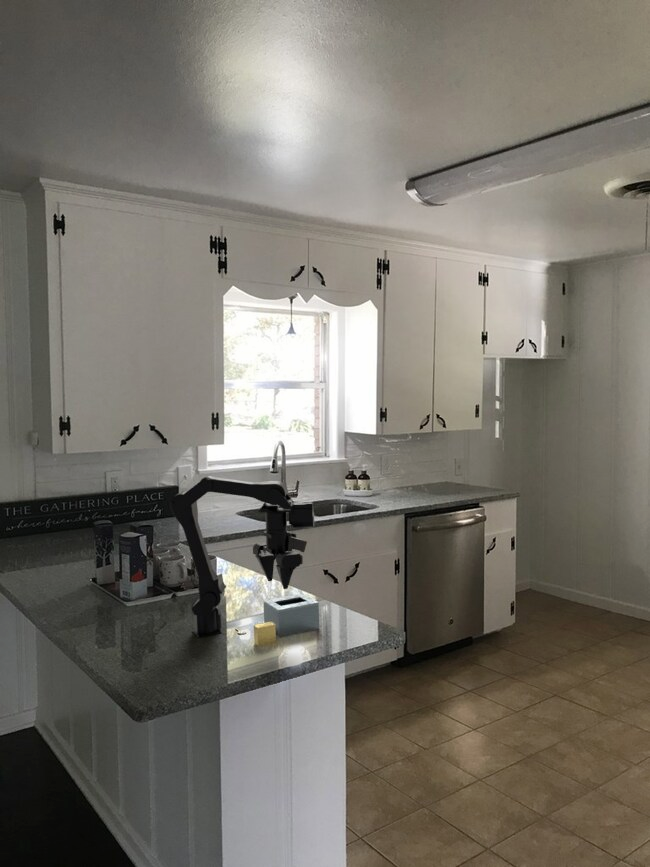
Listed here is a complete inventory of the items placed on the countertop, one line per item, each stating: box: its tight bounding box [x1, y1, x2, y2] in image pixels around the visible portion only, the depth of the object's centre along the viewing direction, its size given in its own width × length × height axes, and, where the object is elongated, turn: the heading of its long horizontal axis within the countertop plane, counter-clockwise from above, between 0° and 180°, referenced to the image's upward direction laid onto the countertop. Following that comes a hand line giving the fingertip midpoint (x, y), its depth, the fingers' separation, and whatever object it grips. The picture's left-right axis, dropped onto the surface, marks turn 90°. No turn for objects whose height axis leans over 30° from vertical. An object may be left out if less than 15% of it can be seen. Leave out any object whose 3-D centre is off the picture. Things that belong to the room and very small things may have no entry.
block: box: [253, 622, 277, 647], centre depth 191 cm, size 5×2×5 cm, turn 118°
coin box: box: [263, 593, 320, 638], centre depth 202 cm, size 12×10×7 cm
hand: (277, 584), depth 200 cm, fingers open, 9 cm apart
